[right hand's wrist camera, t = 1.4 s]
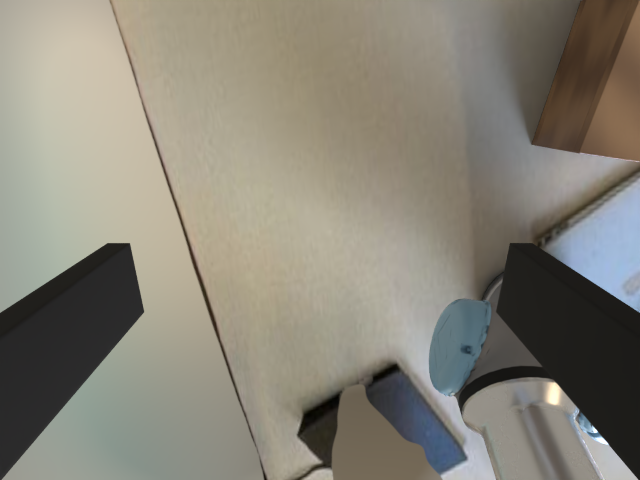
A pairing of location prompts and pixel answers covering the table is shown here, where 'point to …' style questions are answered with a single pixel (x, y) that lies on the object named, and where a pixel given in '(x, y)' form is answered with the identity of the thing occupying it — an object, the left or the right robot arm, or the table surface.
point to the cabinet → (597, 84)
